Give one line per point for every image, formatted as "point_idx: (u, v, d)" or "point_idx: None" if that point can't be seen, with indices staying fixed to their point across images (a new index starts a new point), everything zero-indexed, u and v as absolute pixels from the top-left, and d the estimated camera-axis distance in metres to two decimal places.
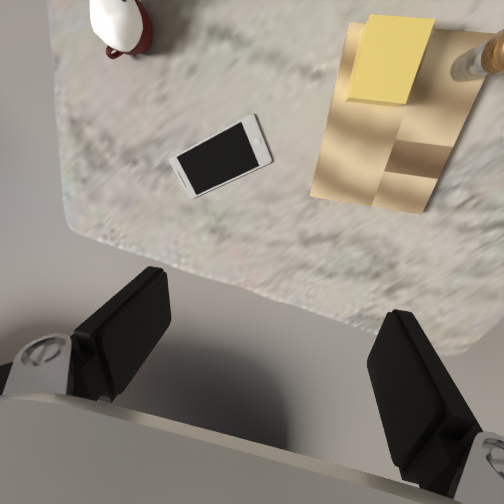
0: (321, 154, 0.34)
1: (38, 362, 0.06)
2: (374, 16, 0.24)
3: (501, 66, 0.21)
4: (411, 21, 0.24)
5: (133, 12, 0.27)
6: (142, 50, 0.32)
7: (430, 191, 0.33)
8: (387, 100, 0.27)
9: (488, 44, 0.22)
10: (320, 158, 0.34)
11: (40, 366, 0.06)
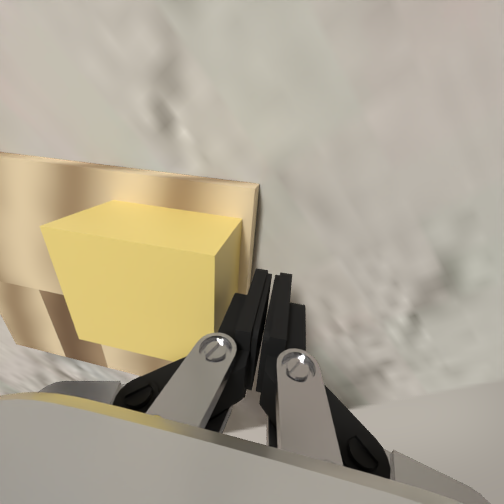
0: (1, 160, 0.13)
1: (208, 355, 0.07)
2: (211, 264, 0.08)
3: None
4: None
5: None
6: None
7: (47, 350, 0.21)
8: (70, 309, 0.11)
9: None
10: None
11: (206, 362, 0.06)
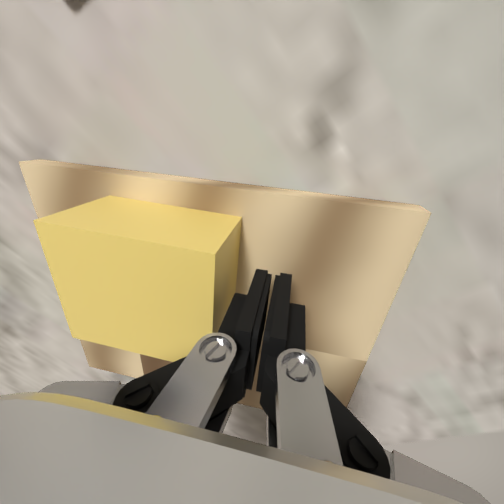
0: (123, 179, 0.12)
1: (208, 355, 0.07)
2: (211, 263, 0.08)
3: None
4: None
5: None
6: None
7: (125, 373, 0.19)
8: (64, 306, 0.11)
9: None
10: (113, 177, 0.12)
11: (206, 362, 0.06)
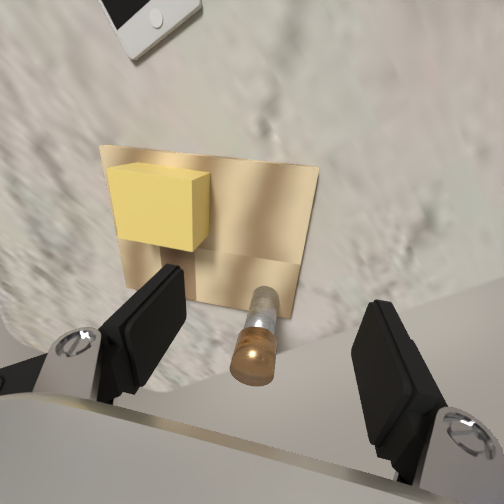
0: (159, 154, 0.21)
1: (70, 353, 0.07)
2: (190, 185, 0.18)
3: (233, 353, 0.19)
4: (189, 229, 0.20)
5: None
6: None
7: None
8: (116, 217, 0.21)
9: (259, 331, 0.20)
10: (153, 153, 0.22)
11: (71, 358, 0.06)
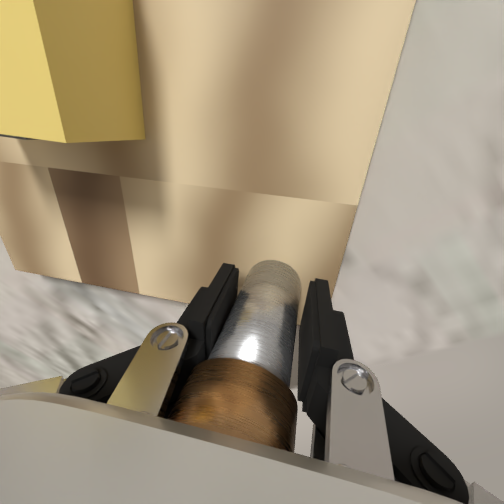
0: None
1: (160, 345, 0.07)
2: None
3: None
4: (36, 55, 0.06)
5: None
6: None
7: (57, 275, 0.15)
8: None
9: (235, 375, 0.06)
10: None
11: (159, 351, 0.07)
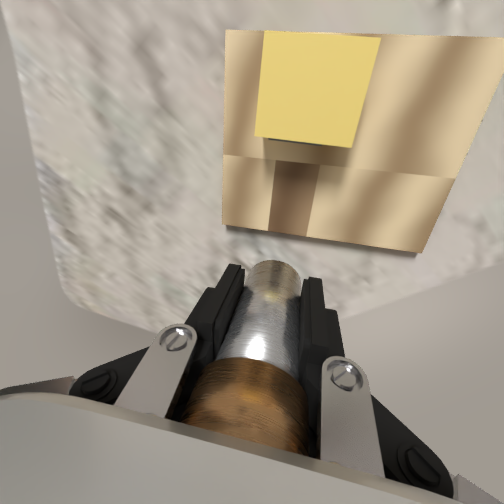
0: None
1: (169, 346, 0.07)
2: (376, 45, 0.14)
3: None
4: (355, 114, 0.16)
5: None
6: None
7: (251, 226, 0.25)
8: (258, 105, 0.17)
9: (248, 374, 0.06)
10: None
11: (168, 352, 0.07)
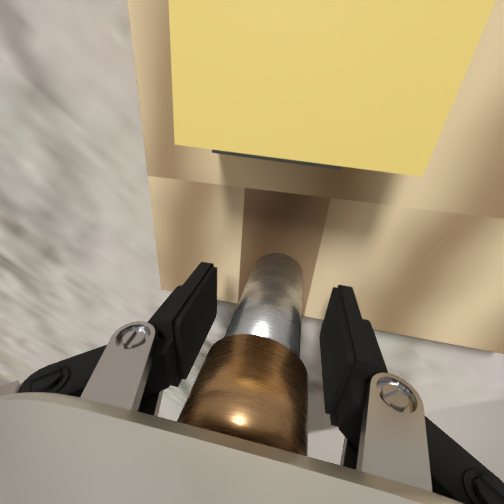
0: None
1: (127, 345, 0.07)
2: None
3: (178, 419, 0.06)
4: (447, 84, 0.05)
5: None
6: None
7: None
8: (175, 64, 0.06)
9: (253, 347, 0.07)
10: None
11: (127, 350, 0.07)
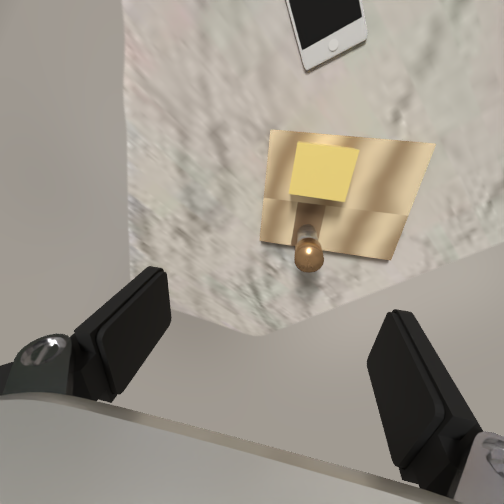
0: (316, 135, 0.31)
1: (38, 362, 0.06)
2: (357, 153, 0.27)
3: (295, 252, 0.30)
4: (347, 185, 0.29)
5: None
6: None
7: (280, 242, 0.38)
8: (292, 178, 0.30)
9: (310, 238, 0.30)
10: (312, 135, 0.31)
11: (40, 366, 0.06)
